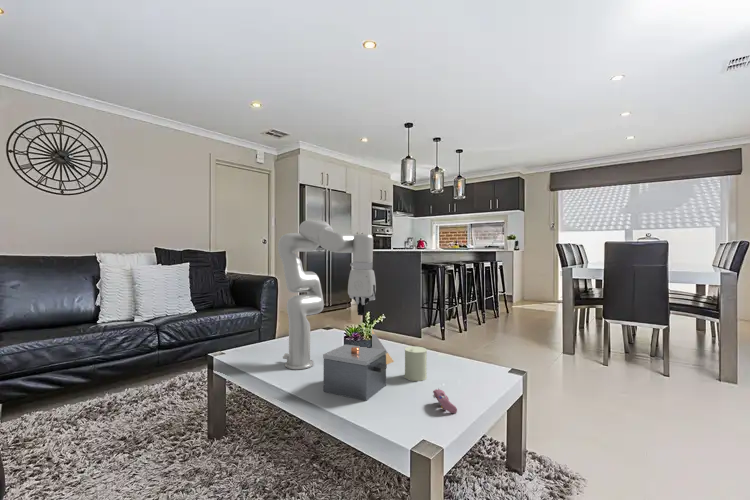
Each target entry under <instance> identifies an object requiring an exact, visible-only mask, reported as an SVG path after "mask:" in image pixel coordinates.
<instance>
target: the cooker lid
mask: <svg viewBox="0 0 750 500" xmlns="http://www.w3.org/2000/svg"><path fill="white" fill-rule="evenodd" d="M386 351H387V349H386V350H381V349H374V348H367V347H360V346H359V345H354V344H347V343H346V344H343V345H341V346H339V347H337V348H334V349H332V350H330V351H328V352H325V353H324V354H322V355H323V356H322V357H323V360H324V359H329V360H335V361H341V362H347V363H353V364H359V365H364V366H367V365H368V364H370V363H372V362H373V361H375V360H377V359H378V358H380V357H382V356H383V355H385V354H386Z"/></svg>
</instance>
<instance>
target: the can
mask: <svg viewBox="0 0 750 500" xmlns="http://www.w3.org/2000/svg"><path fill="white" fill-rule="evenodd" d="M427 352H428V350H427V348H425V347H423V346H406V347H405V348H404V377H403V378H404V379H405V380H408V381H411V382H422V381H425V380H427V378H428V376H427V373H428V372H427V363H428V362H427V356H428V355H427V354H428V353H427Z"/></svg>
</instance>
